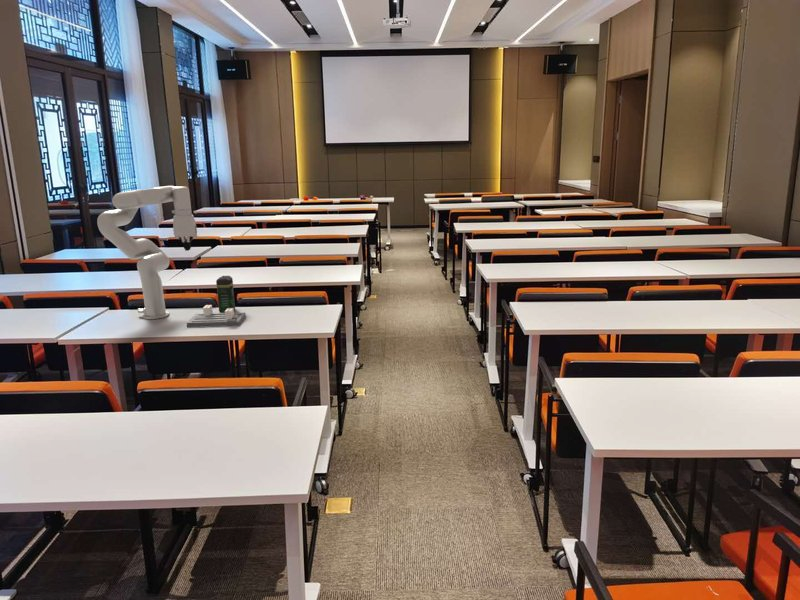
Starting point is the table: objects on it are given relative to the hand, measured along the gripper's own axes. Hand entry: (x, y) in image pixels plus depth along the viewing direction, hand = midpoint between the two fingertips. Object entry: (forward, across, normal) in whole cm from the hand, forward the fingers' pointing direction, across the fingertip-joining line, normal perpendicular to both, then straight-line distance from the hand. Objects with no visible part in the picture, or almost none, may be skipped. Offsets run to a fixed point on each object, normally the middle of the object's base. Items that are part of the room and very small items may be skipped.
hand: (187, 250), depth 288 cm
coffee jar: (+35, +13, +12) cm, 39 cm away
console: (+35, +12, -6) cm, 38 cm away
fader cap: (+32, +20, -10) cm, 39 cm away
